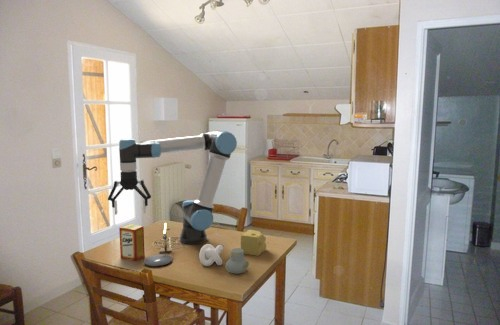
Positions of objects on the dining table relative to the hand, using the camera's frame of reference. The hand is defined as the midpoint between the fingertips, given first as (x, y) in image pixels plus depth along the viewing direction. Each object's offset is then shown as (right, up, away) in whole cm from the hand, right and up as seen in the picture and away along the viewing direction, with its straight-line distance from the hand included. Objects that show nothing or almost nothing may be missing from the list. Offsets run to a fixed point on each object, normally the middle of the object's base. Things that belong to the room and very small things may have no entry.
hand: (130, 213), depth 182 cm
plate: (+15, -23, -4) cm, 28 cm away
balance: (+15, -21, +10) cm, 28 cm away
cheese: (+61, -22, +10) cm, 66 cm away
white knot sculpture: (+42, -24, -7) cm, 49 cm away
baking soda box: (0, -23, +3) cm, 23 cm away
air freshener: (+53, -25, -15) cm, 61 cm away
